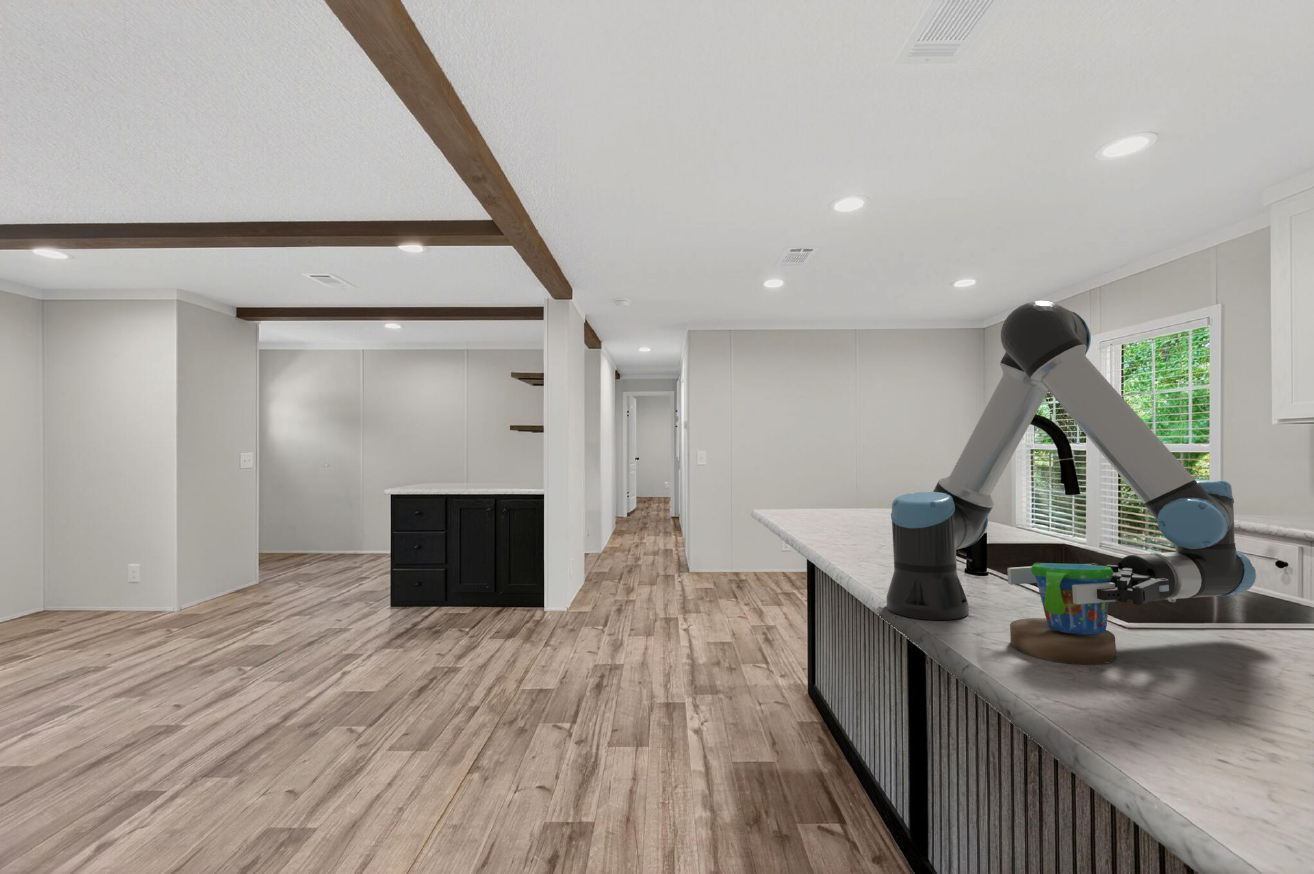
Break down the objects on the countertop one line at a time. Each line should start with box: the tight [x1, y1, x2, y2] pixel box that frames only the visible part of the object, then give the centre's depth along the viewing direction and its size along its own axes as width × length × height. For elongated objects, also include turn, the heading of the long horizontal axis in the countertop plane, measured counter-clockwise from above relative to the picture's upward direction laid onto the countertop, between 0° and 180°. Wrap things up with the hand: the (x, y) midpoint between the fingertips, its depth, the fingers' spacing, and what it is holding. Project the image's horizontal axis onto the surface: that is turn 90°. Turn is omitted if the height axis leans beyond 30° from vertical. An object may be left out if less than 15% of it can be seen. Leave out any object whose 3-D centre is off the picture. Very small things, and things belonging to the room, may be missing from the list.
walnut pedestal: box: [1009, 617, 1117, 666], centre depth 96 cm, size 14×14×3 cm
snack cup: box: [1031, 563, 1113, 635], centre depth 94 cm, size 16×10×10 cm
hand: (1039, 584), depth 96 cm, fingers open, 13 cm apart
